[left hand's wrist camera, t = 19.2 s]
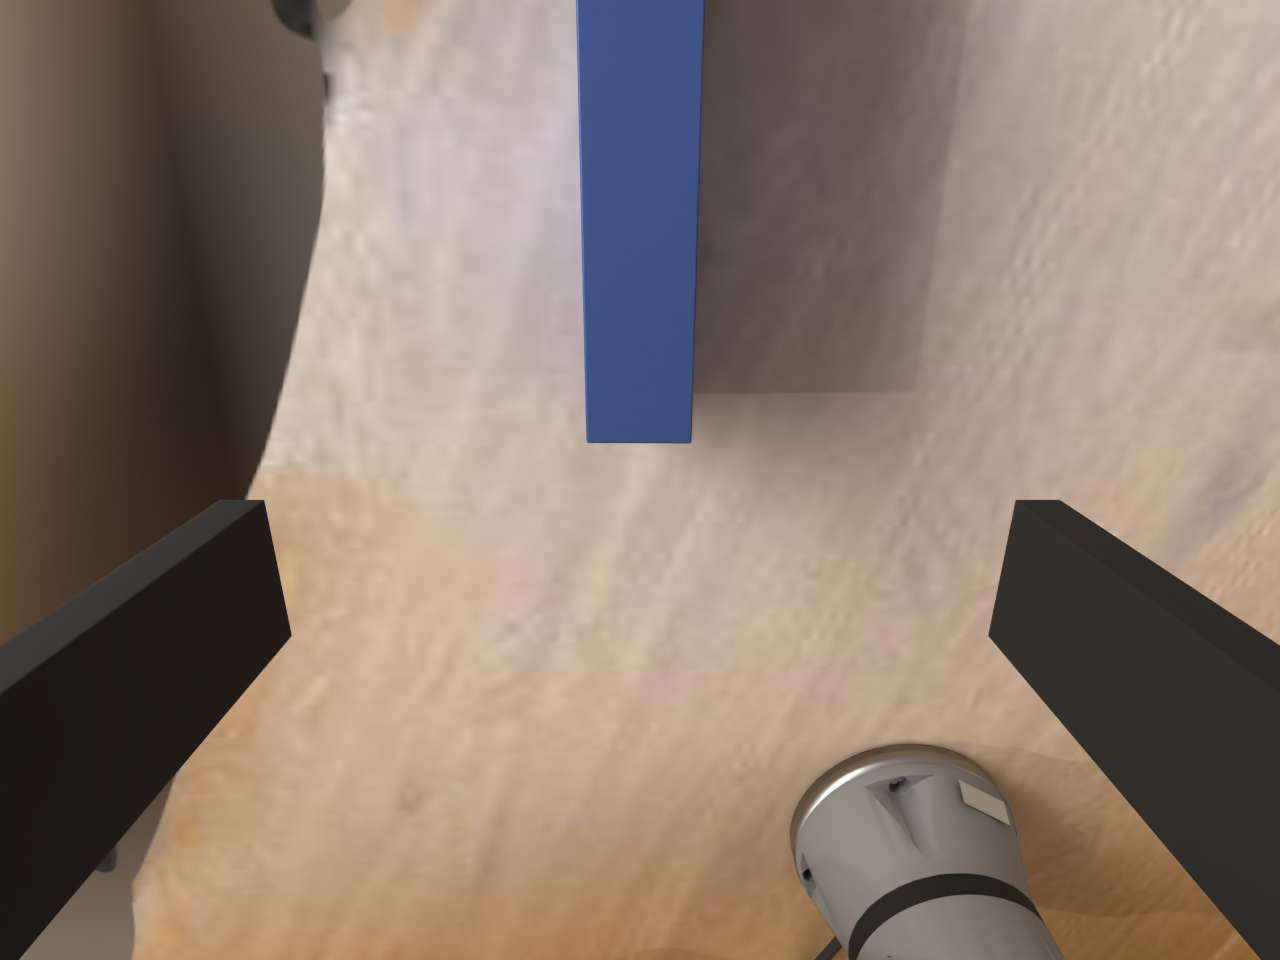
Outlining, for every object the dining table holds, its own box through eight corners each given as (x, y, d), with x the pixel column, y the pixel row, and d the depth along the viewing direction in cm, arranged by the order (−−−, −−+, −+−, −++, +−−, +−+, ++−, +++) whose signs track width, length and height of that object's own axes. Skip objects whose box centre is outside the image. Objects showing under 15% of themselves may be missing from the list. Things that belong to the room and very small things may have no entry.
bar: (680, 394, 39) (691, 443, 30) (598, 394, 39) (586, 443, 30) (695, -208, 30) (717, -385, 21) (588, -209, 30) (566, -385, 21)
